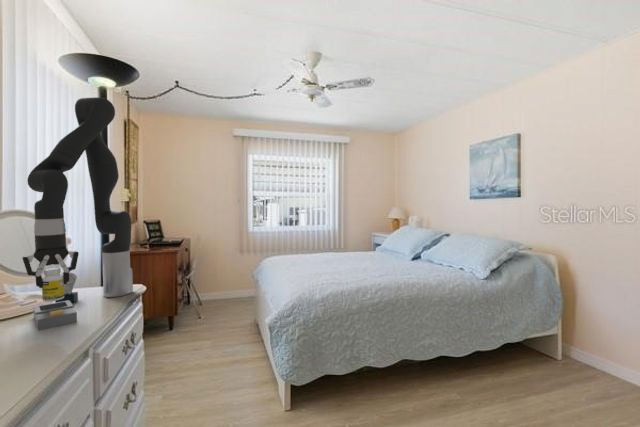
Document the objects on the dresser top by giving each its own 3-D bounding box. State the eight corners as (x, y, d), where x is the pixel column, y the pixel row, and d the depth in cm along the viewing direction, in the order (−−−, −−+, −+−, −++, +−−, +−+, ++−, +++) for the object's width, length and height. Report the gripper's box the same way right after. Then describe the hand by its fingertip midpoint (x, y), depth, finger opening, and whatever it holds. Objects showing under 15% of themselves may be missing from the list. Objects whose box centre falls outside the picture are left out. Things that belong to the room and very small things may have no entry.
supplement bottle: (38, 302, 99) (37, 271, 98) (48, 297, 104) (47, 267, 104) (59, 301, 100) (57, 270, 100) (67, 296, 105) (66, 266, 105)
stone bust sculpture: (79, 298, 122) (78, 269, 121) (72, 304, 114) (71, 274, 114) (61, 300, 119) (60, 271, 119) (53, 306, 112) (52, 275, 112)
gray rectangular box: (32, 312, 106) (32, 301, 106) (66, 306, 112) (66, 295, 112) (37, 330, 91) (37, 317, 91) (77, 321, 98) (76, 309, 97)
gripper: (76, 230, 109) (79, 279, 110) (18, 234, 99) (21, 288, 99) (80, 232, 103) (82, 283, 104) (19, 236, 93) (22, 293, 94)
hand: (53, 285), depth 102 cm, fingers closed on supplement bottle, 5 cm apart
